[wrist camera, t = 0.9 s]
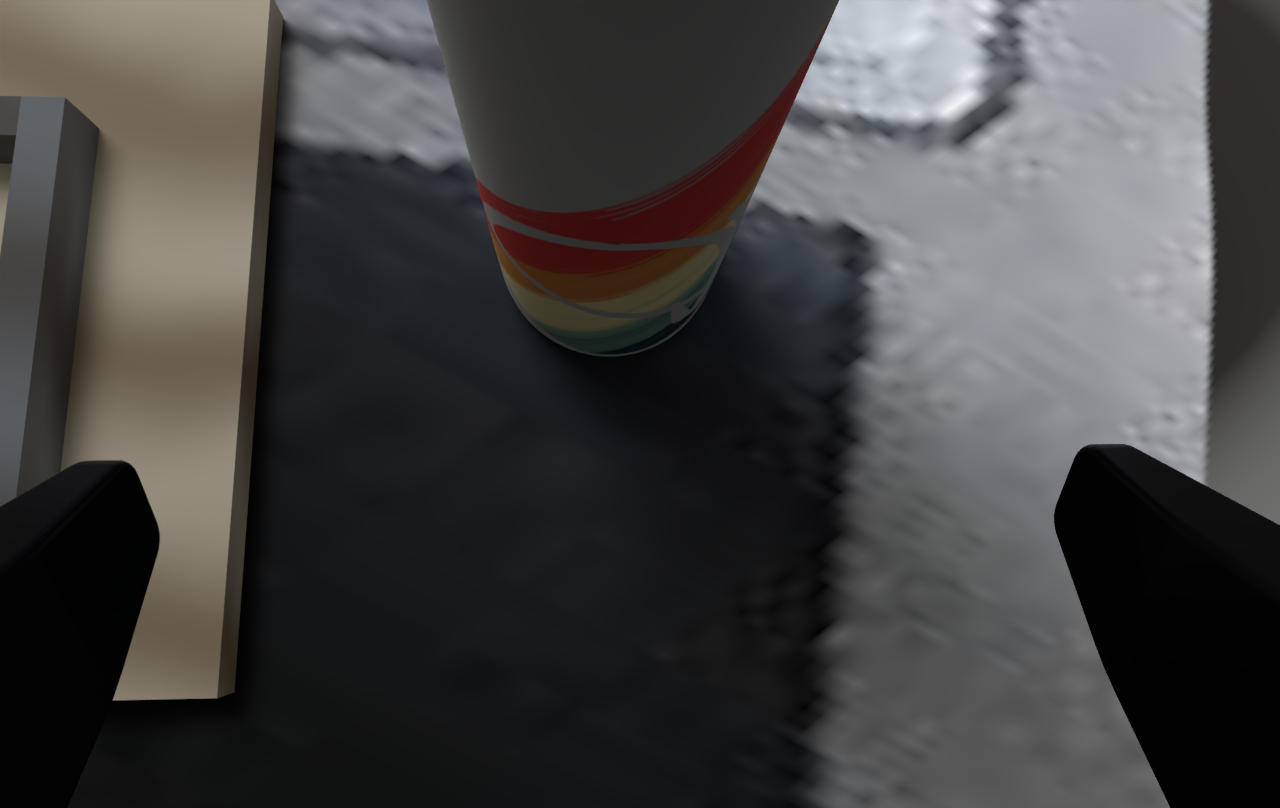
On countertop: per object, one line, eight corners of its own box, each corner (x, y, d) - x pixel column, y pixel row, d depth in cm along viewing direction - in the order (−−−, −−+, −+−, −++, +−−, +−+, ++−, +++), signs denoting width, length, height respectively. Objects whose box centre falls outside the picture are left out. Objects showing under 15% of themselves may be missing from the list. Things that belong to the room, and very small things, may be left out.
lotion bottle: (627, 404, 23) (898, -634, 3) (457, 275, 23) (-243, -1371, 4) (753, 243, 24) (1540, -1277, 4) (589, 122, 24) (613, -1789, 5)
